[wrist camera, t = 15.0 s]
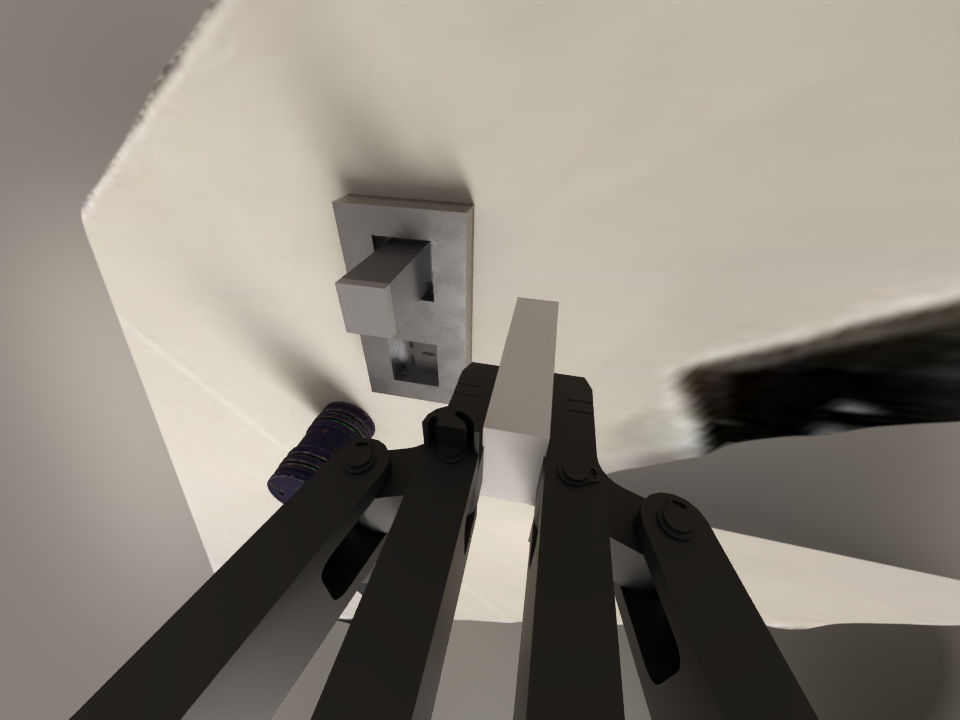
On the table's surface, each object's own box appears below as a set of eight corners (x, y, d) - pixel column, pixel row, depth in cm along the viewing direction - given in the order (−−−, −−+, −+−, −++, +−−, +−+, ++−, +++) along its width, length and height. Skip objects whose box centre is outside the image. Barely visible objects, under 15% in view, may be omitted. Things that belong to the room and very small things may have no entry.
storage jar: (368, 404, 59) (318, 481, 47) (381, 443, 64) (339, 520, 53) (315, 398, 60) (254, 471, 49) (332, 436, 66) (281, 510, 55)
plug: (429, 242, 39) (384, 288, 29) (431, 284, 42) (392, 338, 32) (390, 238, 39) (335, 282, 30) (395, 279, 42) (346, 332, 33)
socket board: (474, 204, 36) (466, 213, 34) (470, 390, 52) (465, 406, 49) (348, 194, 38) (332, 201, 36) (382, 376, 54) (372, 391, 51)
